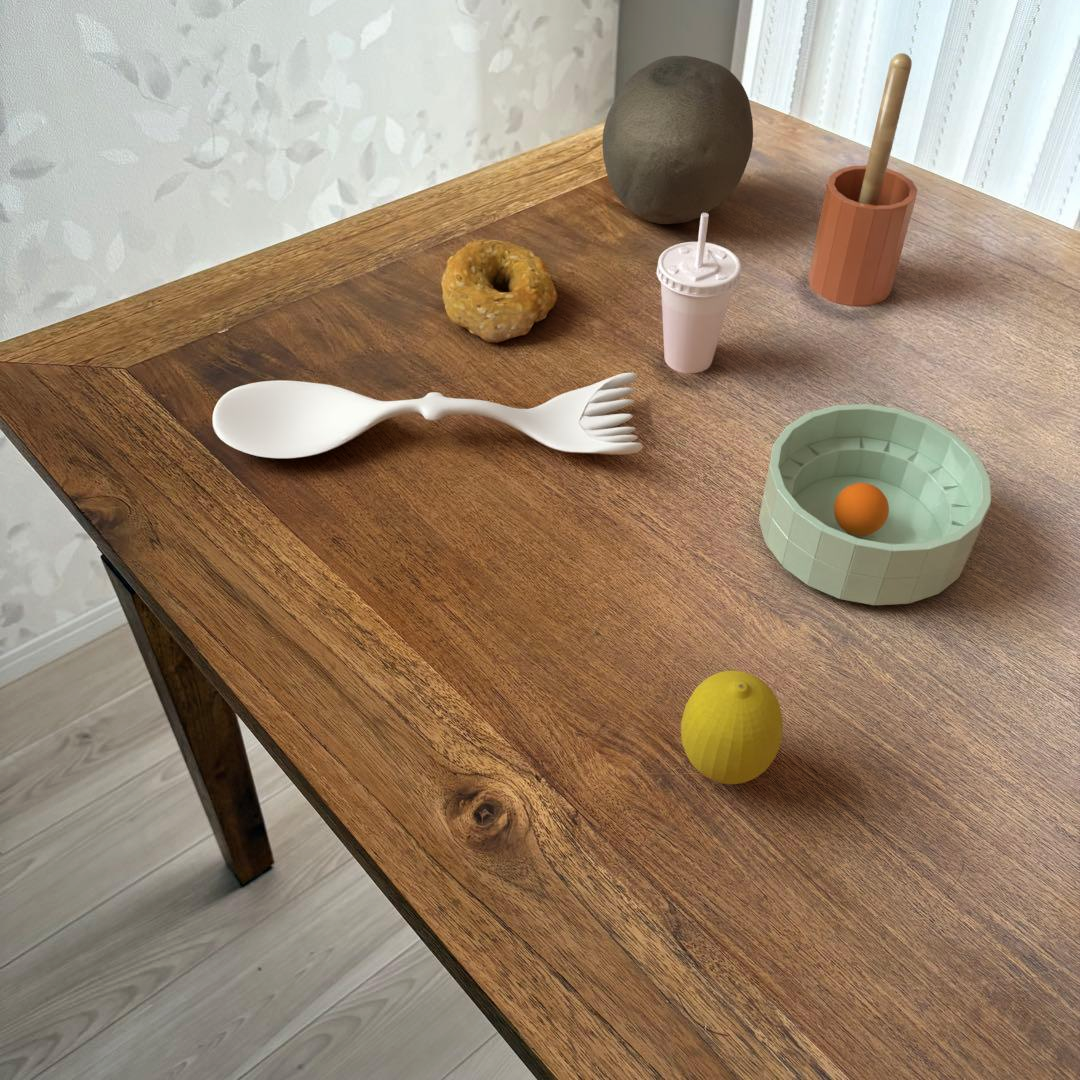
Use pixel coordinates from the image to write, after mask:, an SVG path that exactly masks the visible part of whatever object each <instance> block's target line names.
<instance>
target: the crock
mask: <svg viewBox="0 0 1080 1080" xmlns="http://www.w3.org/2000/svg"><path fill="white" fill-rule="evenodd" d="M866 167H867V164H866V165H865V164H864V165H850V166H846V167H843V168H840V169H839V168H838V169H837V170H835V171H834V172H833V173H831V174H830V175H829V176H828V180H827V183H826V186H825V192H824V196H823V200H822V201H823V202H822V206H821V207H822V208H821V213H820V216H819V220H818V221H819V222H818V227H817V231H816V236H815V241H814V246H813V251H812V256H811V260H810V261H811V262H810V266H809V270H808V277H807V280H808V285H809V286H810V288H811V290H812V291H813V292H814V293H815V294H817V295H818V296H819V297H821V298H822V299H824V300H826V301H828V302H831V303H833V304H838V305H841V306H847V307H848V306H849V307H868V306H873V305H877V304H880V303H881V302H882V301H885V300H886V299H887V298H888V297H889V296H890V294H891V293H892V289H893V285H894V282H895V278H896V275H897V271H898V267H899V263H900V259H901V256H902V252H903V248H904V244H905V241H906V237H907V233H908V228H909V225H910V222H911V217H912V214H913V211H914V207H915V203H916V200H917V194H918V188H917V187H916V185H915V183H914V181H913V180H911V178H909V177H907V176H906V175H905V174H903V173H901V172H898V171H895V170H893V169H891V168H887V170H886V174H885V178H884V182H883V186H882V190H881V195H880V199H879V203H878V206H875V205H869V204H863V203H858V202H859V198H860V193H861V189H862V184H863V180H864V176H865V171H866Z"/></svg>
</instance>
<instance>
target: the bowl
mask: <svg viewBox="0 0 1080 1080" xmlns="http://www.w3.org/2000/svg"><path fill="white" fill-rule="evenodd" d="M856 483H867V484H871V485H873V486H875V487H877V488H879V489H880V490H881V491H882V492H883V493H884V495H885V496H886V498H887V501H888V505H889V513H888V517H887V520H886V522H885V523H884V525H883V526H882V527H881V528H880V529H879V530H877V531H876V532H874V533H872V534H869V535H864V536H858V535H853V534H850V533H848V532H846V531H845V530H844V529H842V528H841V527H840V525H839V524H838V522H837V520H836V518H835V515H834V504H835V501H836V498H837V497H838V495H839V494H840V492H841V491H842V490H843V489H845V488H846V487H848V486H850V485H852V484H856ZM763 487H764V488H763V492H762V497H761V503H760V507H759V508H760V510H759V516H758V523H759V527H760V530H761V533H762V536H763V541H764V543H765V545H766V547H767V548H768V549H769V550H770V552H771V554H772V555H773V557H775V558H776V560H777V561H778V563H779V564H780V565H781V566H782V567H783V569H785V570H786V571H788V572H789V573H790V574H792V575H793V576H795V577H796V578H797V579H798V580H800V581H801V582H802V583H804V584H805V585H806V586H808V587H810V588H812V589H814V590H818V591H819V592H822V593H825V594H827V595H829V596H831V597H834V598H836V599H839V600H841V601H843V600H844V601H848V602H853V603H859V604H864V605H868V606H869V605H870V606H891V605H907V604H913V603H915V602H919V601H921V600H924V599H928V598H931V597H933V596H936V595H939V594H940V593H942V592H943V591H944V590H945V589H947V588H948V587H949V586H951V585H952V584H953V583H955V581H957V580H958V579H959V578H960V577H961V574H962V573H963V571H964V569H965V566H966V565H967V562H968V560H969V558H970V556H971V554H972V551H973V548H974V547H975V543H976V541H977V539H978V536H979V534H980V532H981V529H982V526H983V524H984V523H985V519H986V517H987V514H988V513H989V509H990V508H991V504H992V489H991V488H992V485H991V477H990V476H989V474H988V472H987V470H986V468H985V466H984V463H983V461H982V460H981V458H980V456H979V455H978V454H977V453H976V452H975V451H974V450H973V449H972V448H971V447H970V446H969V445H968V444H967V443H966V442H964V440H963V439H961V437H959V435H957V434H956V433H954V432H952V431H951V430H949V429H948V428H945V427H944V426H942V425H941V424H939V423H937V422H936V421H934V420H933V419H930V418H927V417H924V416H921V415H918V414H916V413H913V412H909V411H907V410H905V409H902V408H899V407H891V406H885V405H879V404H873V403H872V404H870V403H856V404H855V403H853V404H834V405H831V406H827V407H824V408H820V409H815V410H813V411H809V412H806V413H805V414H804V415H802V416H800V417H798V418H797V419H795V420H794V421H792V422H791V423H788V424H786V426H785V427H784V429H783V430H782V431H781V433H780V434H779V435H778V437H777V438H776V439H775V441H774V443H773V444H772V447H771V452H770V456H769V461H768V466H767V472H766V477H765V483H764V486H763Z"/></svg>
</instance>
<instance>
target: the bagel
mask: <svg viewBox="0 0 1080 1080" xmlns="http://www.w3.org/2000/svg"><path fill="white" fill-rule="evenodd" d="M446 261H447V262H446V268H445V271H444V273H443V275H442V277H441V284H440V285H441V289H442V295H441V298H442V300H443V304H444V309H445V311H446V314H447V317H448V318H449V320H450V321H451V323H453V324H454V325H455V326H458V327H460V328H461V327H462V328H464V329H466V330H468V331H469V333H470V334H473V335H475V336H476V337H479V338H481V339H482V340H483V341H484V342H487V343H497V344H498V343H500V342H504V341H507V340H510V339H513V338H517V337H521V336H525V335H527V334H528V333H529V332H530V331H531V328H532V327H533V325H534V323H538V322H540V321H542V320H544V319H546V317H547V314H548V313H549V312H550V310H551V309H553V308H554V306H555V304H556V302H557V299H558V293H557V290H556V288H555V286H554V282H553V281H552V277H551V272H550V270H549V268H548V266H547V264H546V263H545V261H544V259H543V258H542V257H540V256H539V255H538V254H537V253H536V252H535V251H533V250H532V249H529V248H527V247H525V246H521V245H518V244H516V243H513V242H511V241H505V240H499V239H486V238H485V239H478V240H475V241H470V242H468V243H467V244H466V245H465V246H463V247H461V248H460V249H459V250H457V251H456V252H455V253H454V254H453V255H451V256H450V257H449V258H448V259H447V260H446Z"/></svg>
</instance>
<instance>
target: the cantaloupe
mask: <svg viewBox="0 0 1080 1080" xmlns="http://www.w3.org/2000/svg"><path fill="white" fill-rule="evenodd" d="M749 99H750V98H749V95H748V93H747V91H746V90H745V87H744V85H743V84H742V83H741V81H740V80H739V79H738V78H737V77H736V75H735V74H734V73H732V71H731V70H729V69H728V68H727V67H725V66H723V65H721V64H719V63H716V62H713V61H711V60H707V59H703V58H700V57H696V56H690V55H670V56H664V57H661V58H658V59H657V60H653V61H652V62H650V63H648V64H646V65H645V66H644V67H643V68H640V69H639V70H637V71H636V72H635V73H633V74H632V76H631V77H629V79H628V80H627V81H626V82H625V83H624V84H623V85H622V87H621V89H620V90H619V92H618V93H617V95H616V97H615V100H614V102H613V103H612V105H611V106H610V109H609V110H608V112H607V115H606V118H605V122H604V126H603V132H602V147H601V148H602V157H603V163H604V167H605V171H606V175H607V178H608V181H609V184H610V186H611V188H612V191H613V192H614V194H615V196H616V197H617V198H618V201H619V202H621V203H622V204H623V205H624V206H625V207H626V208H627V209H628V210H629V211H630V212H632V213H633V214H634V215H636V216H637V217H639V218H640V219H642V220H644V221H647V222H650V223H653V224H658V225H671V224H673V225H674V224H685V223H689V222H692V221H694V220H696V219H700V218H701V214H702V213H707V214H709V212H710V211H712V210H713V209H715V208H717V207H718V206H719V205H721V204H722V203H724V202H725V201H726V200H728V198H730V196H731V195H732V194H733V192H734V191H735V190H736V188H737V186H738V185H739V184H740V182H741V180H742V178H743V175H744V173H745V170H746V168H747V166H748V162H749V160H750V157H751V153H752V149H753V144H754V143H753V142H754V120H753V113H752V108H751V104H750V100H749Z"/></svg>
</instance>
